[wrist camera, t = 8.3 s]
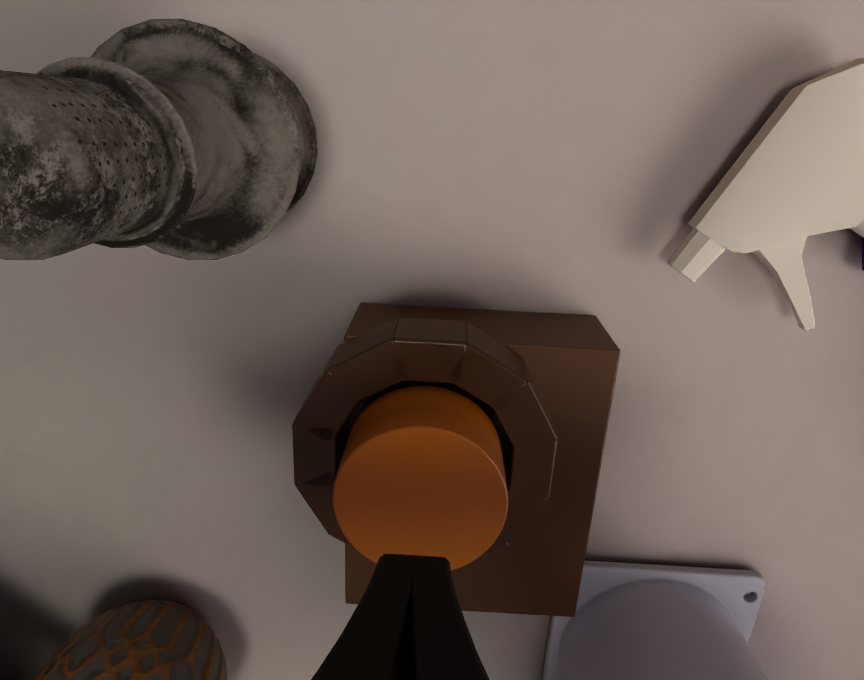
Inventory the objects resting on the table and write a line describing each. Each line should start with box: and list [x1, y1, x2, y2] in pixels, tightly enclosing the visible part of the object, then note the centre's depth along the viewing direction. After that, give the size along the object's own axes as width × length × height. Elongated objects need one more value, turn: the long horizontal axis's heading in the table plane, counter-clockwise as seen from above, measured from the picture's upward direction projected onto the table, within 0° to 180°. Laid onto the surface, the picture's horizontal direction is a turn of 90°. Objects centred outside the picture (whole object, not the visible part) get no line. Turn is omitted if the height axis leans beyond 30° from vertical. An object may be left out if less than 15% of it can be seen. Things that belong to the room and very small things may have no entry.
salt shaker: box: [0, 19, 317, 260], centre depth 13 cm, size 6×6×12 cm
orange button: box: [332, 386, 509, 570], centre depth 16 cm, size 4×4×2 cm
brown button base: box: [292, 303, 620, 617], centre depth 20 cm, size 11×9×5 cm
